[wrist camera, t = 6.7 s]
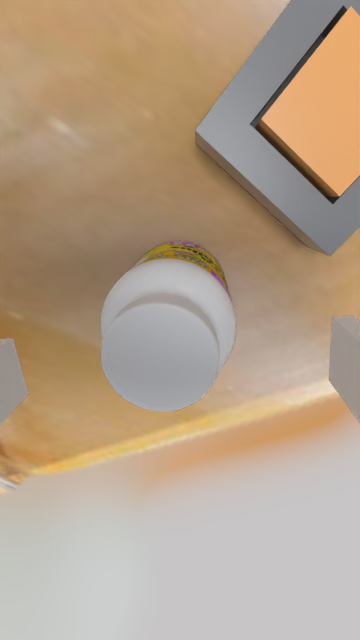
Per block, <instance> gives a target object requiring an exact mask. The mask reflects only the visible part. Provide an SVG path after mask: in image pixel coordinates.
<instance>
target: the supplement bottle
mask: <svg viewBox="0 0 360 640" xmlns="http://www.w3.org/2000/svg"><path fill="white" fill-rule="evenodd" d="M101 333H102V338H103V342H102V346H101V363H102V368H103V371H104V374H105V376H106V378H107V380H108V382H109V383H110V385H111V386H112V388H113V389H114V390H115V391H116V392H117V393H118V394H119V395H120V396H121V397H122V398H124V399H125V400H127V401H128V402H130V403H132V404H134V405H136V406H138V407H140V408H143V409H147V410H152V411H175V410H179V409H182V408H185V407H187V406H189V405H192V404H193V403H195V402H197V401H198V400H199V399H201V398H202V397H203V396H204V395H205V394H206V393H207V392H208V390H209V389H210V388H211V386H212V385H213V383H214V381H215V379H216V377H217V374H218V370H219V369H220V368H221V367H222V366H223V364H224V363H225V361H226V360H227V358H228V357H229V355H230V353H231V350H232V348H233V344H234V341H235V336H236V317H235V312H234V308H233V304H232V301H231V298H230V294H229V291H228V287H227V284H226V281H225V277H224V274H223V271H222V269H221V267H220V265H219V263H218V261H217V260H216V259H215V257H214V256H213V255H212V254H211V253H210V252H209V251H207V250H206V249H205V248H203V247H201V246H199V245H197V244H194V243H191V242H186V241H172V242H167V243H164V244H161V245H159V246H157V247H155V248H154V249H152V250H151V251H149V252H148V253H147V254H146V255H145V256H144V257H143V258H141V259H140V260H139V261H138V262H137V263H136V264H135V265H134V266H133V267H132V268H131V269H130V270H128V271H127V272H126V273H125V274H124V275H123V276H122V277H121V278H120V279H119V280H118V281H117V282H116V284H115V285H114V286H113V287H112V289H111V290H110V292H109V294H108V296H107V298H106V300H105V302H104V305H103V309H102V314H101Z"/></svg>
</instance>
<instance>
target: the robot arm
mask: <svg viewBox="0 0 360 640" xmlns="http://www.w3.org/2000/svg"><path fill="white" fill-rule="evenodd" d="M329 381H330V382H331V384H332V385H333V386H334V388H335V389H336V391H337V392H338V393H339V395H340V396H341V398H342V399H343V400H344V402H345V403H346V405H347V406H348V407H349V409H350V410H351V412H352V413H353V414H354V416H355V417H356V419H357V420H358V422H359V423H360V321H359V320H358V319H356V318H355V317H354V316H339V317H332V328H331V347H330V366H329ZM28 395H29V394H28V391H27V387H26V383H25V380H24V376H23V373H22V369H21V365H20V362H19V358H18V354H17V351H16V347H15V343H14V340H13V338H10V339H0V425H1V424H2V423H3V422H4V421H5V420H6V419H7V418H8V416H9V415H10V414H11V413H12V412H13V411H14V410H15V409H16V408H17V407H18V406H19V405H20V403H21V402H22V401H23V400H24V399H25V398H26V397H27V396H28Z"/></svg>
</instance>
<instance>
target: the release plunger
mask: <svg viewBox="0 0 360 640" xmlns="http://www.w3.org/2000/svg"><path fill="white" fill-rule="evenodd" d="M255 129H256V130H257V131H258V132H259V133H260V134H261V135H262V136H263V137H264V138H265V139H266V140H267V141H268V142H269V143H270V144H271V145H272V146H273V147H274V148H275V149H276V150H277V151H278V152H279V153H280V154H281V155H282V156H283V157H284V158H285V159H286V160H287V161H288V162H289V163H290V164H291V165H293V166H294V167H295V168H296V169H297V170H298V171H299V172H300V173H301V174H302V175H303V176H304V177H305V178H306V179H307V180H308V181H309V182H310V183H311V184H312V185H313V186H314V187H315V188H316V189H317V190H318V191H319V192H320V193H321V194H322V195H323V196H324V197H337V196H341V195H342V194H343V192H344V191H345V190H346V189H347V188H348V187H349V186H350V185H351V184H352V183H353V182H354V181H355V180H356V179H357V178H358V177H359V175H360V16H359V15H358V13H357V12H356V11H355V10H354V9H353V8H352V7H351V6H350V8H349V9H348V10H347V11H346V13H345V14H344V15H343V16H342V18H341V19H340V20H339V22H338V23H337V24H336V25H335V27H334V28H333V29H332V30H331V32H330V33H329V34H328V35H327V37H326V38H325V39H324V40H323V42H322V43H321V44H320V46H319V47H318V48H317V49H316V51H315V52H314V53H313V54H312V56H311V57H310V58H309V59H308V61H307V62H306V63H305V64H304V66H303V67H302V68H301V69H300V71H299V72H298V73H297V75H296V76H295V77H294V78H293V80H292V81H291V82H290V83H289V85H288V86H287V87H286V88H285V90H284V91H283V92H282V93H281V95H280V96H279V97H278V99H277V100H276V101H275V102H274V104H273V105H272V106H271V107H270V109H269V110H268V111H267V112H266V114H265V115H264V116H263V117H262V119H261V120H260V121H259V123H258V124H257V125H256V127H255Z"/></svg>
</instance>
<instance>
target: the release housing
mask: <svg viewBox="0 0 360 640" xmlns="http://www.w3.org/2000/svg"><path fill="white" fill-rule="evenodd" d="M350 6H351V7H352V8H353V9H354V10H355V11H356V12H357V13H358V15H359V16H360V0H291V1H290V3H289V4H288V5H287V7H286V8H285V9H284V11H283V12H282V13H281V15H280V16H279V17H278V19H277V20H276V22H275V23H274V24H273V26H272V27H271V28H270V30H269V31H268V32H267V34H266V35H265V37H264V38H263V39H262V41H261V42H260V43H259V45H258V46H257V47H256V49H255V50H254V51H253V53H252V54H251V56H250V57H249V58H248V60H247V61H246V62H245V64H244V65H243V66H242V68H241V69H240V70H239V72H238V73H237V75H236V76H235V77H234V79H233V80H232V81H231V83H230V84H229V85H228V87H227V88H226V90H225V91H224V92H223V94H222V95H221V96H220V98H219V99H218V100H217V102H216V103H215V104H214V106H213V107H212V109H211V110H210V111H209V113H208V114H207V115H206V117H205V118H204V119H203V121H202V122H201V124H200V125H199V126H198V128H197V129H196V130H195V134H196V144H197V145H198V146H199V147H200V148H201V149H202V150H203V151H204V152H205V153H206V154H207V155H208V156H210V157H211V158H212V159H213V160H214V161H215V162H216V163H217V164H218V165H219V166H220V167H221V168H223V169H224V170H225V171H226V172H227V173H228V174H229V175H230V176H231V177H232V178H233V179H234V180H236V181H237V182H238V183H239V184H240V185H241V186H242V187H243V188H244V189H245V190H246V191H247V192H249V193H250V194H251V195H252V196H253V197H254V198H255V199H256V200H257V201H258V202H259V203H260V204H262V205H263V206H264V207H265V208H266V209H267V210H268V211H269V212H270V213H271V214H272V215H273V216H274V217H276V218H277V219H278V220H279V221H280V222H281V223H282V224H283V225H284V226H285V227H286V228H287V229H289V230H290V231H291V232H292V233H293V234H294V235H295V236H296V237H297V238H298V239H299V240H300V241H302V242H303V243H304V244H305V245H306V246H307V247H309V248H312V249H314V250H316V251H319V252H321V253H323V254H326V255H328V256H331V255H332V254H333V253H334V252H335V251H336V250H337V249H338V248H339V247H340V246H341V245H342V244H343V243H344V242H345V241H346V240H347V239H348V238H349V237H350V236H351V235H352V234H353V233H354V232H355V231H356V230H357V229H358V228H359V227H360V175H359V177H358V178H357V179H356V180H355V181H354V182H353V183H352V184H351V185H350V186H349V187H348V188H347V189H346V190H345V191H344V192H343V194H342V195H341V196H337V197H324V196H323V195H322V194H321V193H320V192H319V191H318V190H317V189H316V188H315V187H314V186H313V185H312V184H311V183H310V182H309V181H308V180H307V179H306V178H305V177H304V176H303V175H302V174H301V173H300V172H299V171H298V170H297V169H296V168H295V167H294V166H293V165H291V164H290V163H289V162H288V161H287V160H286V159H285V158H284V157H283V156H282V155H281V154H280V153H279V152H278V151H277V150H276V149H275V148H274V147H273V146H272V145H271V144H270V143H269V142H268V141H267V140H266V139H265V138H264V137H263V136H262V135H261V134H260V133H259V132H258V131H257V130H256V129H255V127H256V125H257V124H258V123H259V121H260V120H261V119H262V117H263V116H264V115H265V114H266V112H267V111H268V110H269V109H270V107H271V106H272V105H273V104H274V102H275V101H276V100H277V99H278V97H279V96H280V95H281V93H282V92H283V91H284V90H285V88H286V87H287V86H288V85H289V83H290V82H291V81H292V80H293V78H294V77H295V76H296V75H297V73H298V72H299V71H300V69H301V68H302V67H303V66H304V64H305V63H306V62H307V61H308V59H309V58H310V57H311V56H312V54H313V53H314V52H315V51H316V49H317V48H318V47H319V46H320V44H321V43H322V42H323V40H324V39H325V38H326V37H327V35H328V34H329V33H330V32H331V30H332V29H333V28H334V27H335V25H336V24H337V23H338V22H339V20H340V19H341V18H342V16H343V15H344V14H345V13H346V11H347V10H348V9H349V8H350Z"/></svg>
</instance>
